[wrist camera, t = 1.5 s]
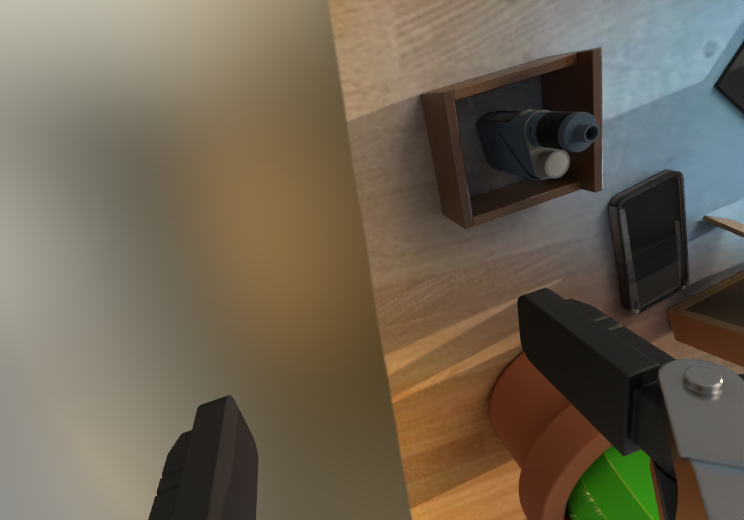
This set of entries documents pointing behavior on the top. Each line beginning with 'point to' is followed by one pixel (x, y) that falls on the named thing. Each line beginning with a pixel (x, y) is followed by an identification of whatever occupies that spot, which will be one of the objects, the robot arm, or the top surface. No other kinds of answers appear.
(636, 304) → the phone
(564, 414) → the potted cactus
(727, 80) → the coaster
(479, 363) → the top surface
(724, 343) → the photo frame
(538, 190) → the wooden tray
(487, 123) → the vaping device
